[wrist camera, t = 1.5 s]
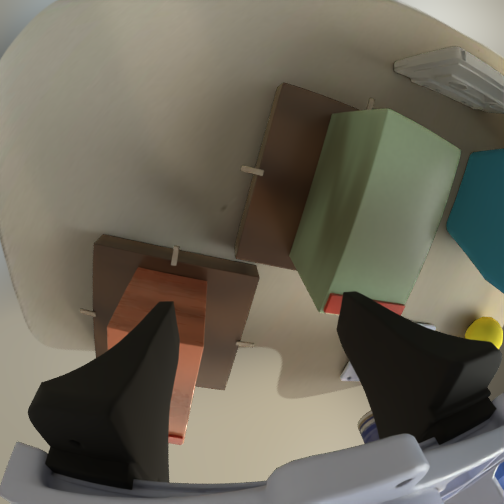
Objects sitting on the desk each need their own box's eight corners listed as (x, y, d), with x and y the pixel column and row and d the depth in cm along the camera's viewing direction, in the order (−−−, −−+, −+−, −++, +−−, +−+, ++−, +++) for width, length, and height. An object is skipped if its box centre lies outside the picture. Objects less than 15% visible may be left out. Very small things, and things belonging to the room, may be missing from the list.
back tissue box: (137, 266, 20) (105, 329, 13) (207, 280, 20) (203, 350, 14) (132, 367, 23) (115, 433, 16) (187, 378, 24) (183, 446, 17)
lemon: (448, 344, 30) (471, 371, 25) (467, 307, 28) (494, 332, 23) (476, 342, 31) (497, 365, 26) (494, 309, 29) (518, 330, 24)
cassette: (486, 100, 19) (545, 104, 12) (486, 117, 19) (545, 125, 12) (392, 56, 17) (455, 37, 10) (391, 76, 18) (457, 64, 11)
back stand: (91, 217, 20) (79, 226, 18) (274, 255, 22) (279, 267, 21) (92, 356, 25) (86, 371, 23) (232, 384, 27) (234, 400, 25)
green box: (331, 113, 17) (391, 107, 10) (394, 139, 18) (465, 150, 11) (288, 256, 20) (320, 315, 14) (350, 269, 21) (398, 324, 15)
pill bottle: (349, 428, 34) (371, 485, 25) (370, 404, 32) (399, 463, 23) (377, 427, 35) (401, 478, 26) (398, 404, 33) (427, 456, 24)
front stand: (265, 68, 17) (271, 61, 15) (429, 136, 20) (445, 138, 18) (216, 258, 22) (215, 271, 20) (375, 288, 25) (386, 301, 23)
